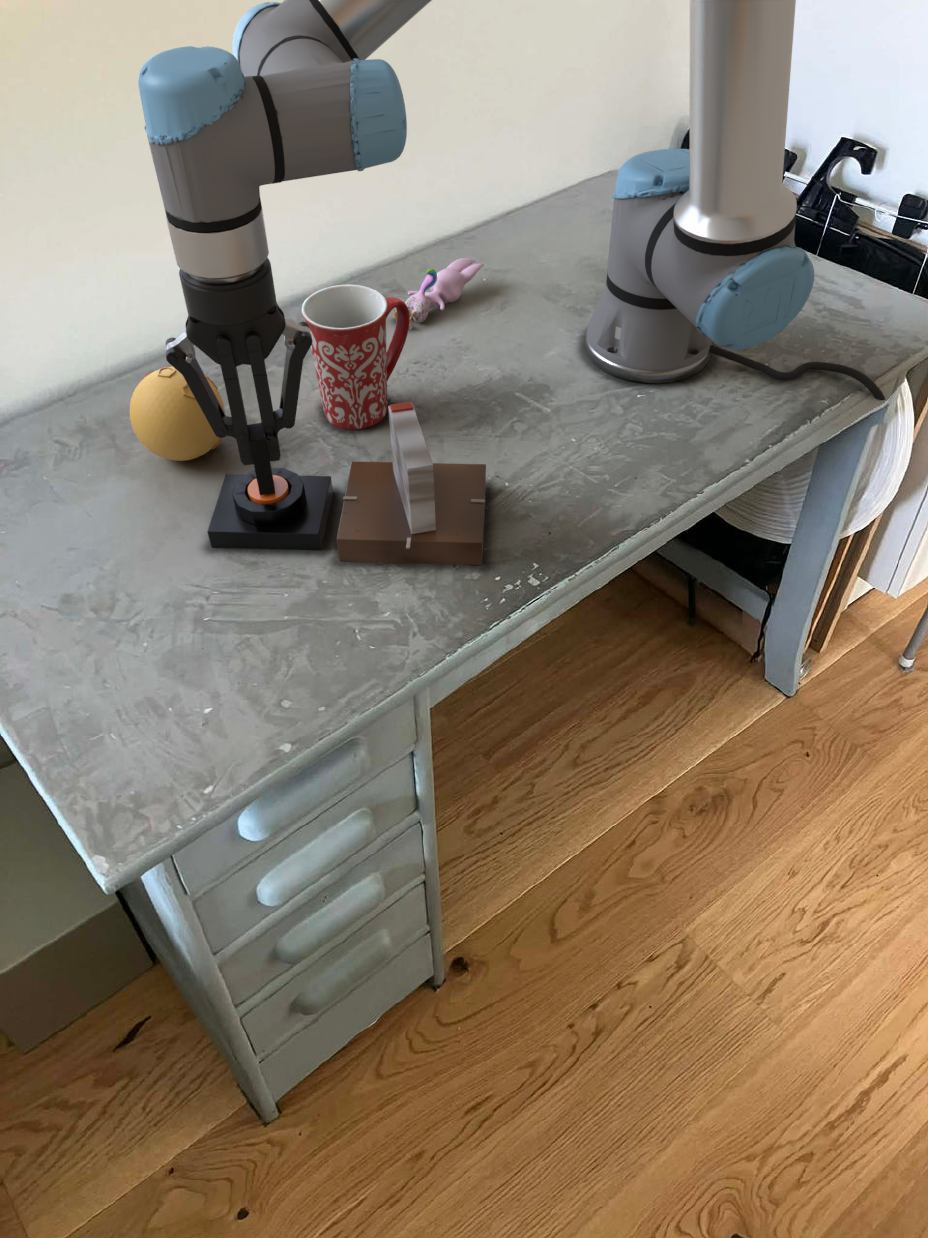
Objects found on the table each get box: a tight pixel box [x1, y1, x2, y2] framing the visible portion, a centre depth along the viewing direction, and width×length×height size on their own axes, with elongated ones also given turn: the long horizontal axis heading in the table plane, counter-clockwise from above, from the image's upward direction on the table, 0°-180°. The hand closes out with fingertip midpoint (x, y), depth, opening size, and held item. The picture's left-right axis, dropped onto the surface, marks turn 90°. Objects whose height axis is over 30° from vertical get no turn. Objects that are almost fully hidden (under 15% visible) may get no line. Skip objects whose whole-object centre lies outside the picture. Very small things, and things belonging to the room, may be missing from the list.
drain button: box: [248, 475, 290, 504], centre depth 102 cm, size 4×4×2 cm
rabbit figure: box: [392, 257, 485, 330], centre depth 131 cm, size 6×6×15 cm
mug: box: [300, 284, 410, 431], centre depth 113 cm, size 13×9×14 cm
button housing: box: [207, 467, 334, 551], centre depth 103 cm, size 11×9×4 cm
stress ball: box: [129, 365, 226, 462], centre depth 109 cm, size 10×10×10 cm
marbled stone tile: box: [387, 401, 436, 534], centre depth 99 cm, size 10×2×8 cm, turn 13°
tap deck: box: [336, 461, 487, 566], centre depth 103 cm, size 14×14×3 cm
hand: (266, 485), depth 101 cm, fingers closed
